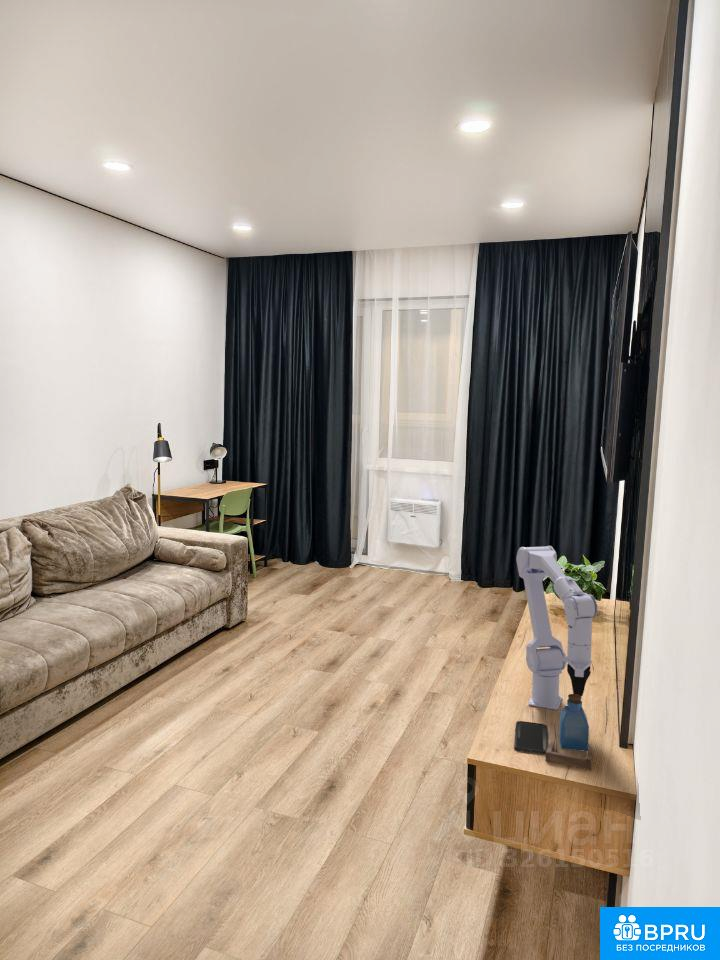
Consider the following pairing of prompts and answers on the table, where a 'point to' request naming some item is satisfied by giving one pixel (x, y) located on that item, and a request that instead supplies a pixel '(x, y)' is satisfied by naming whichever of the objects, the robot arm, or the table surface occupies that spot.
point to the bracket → (568, 757)
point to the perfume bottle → (574, 725)
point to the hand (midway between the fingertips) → (578, 694)
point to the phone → (530, 737)
